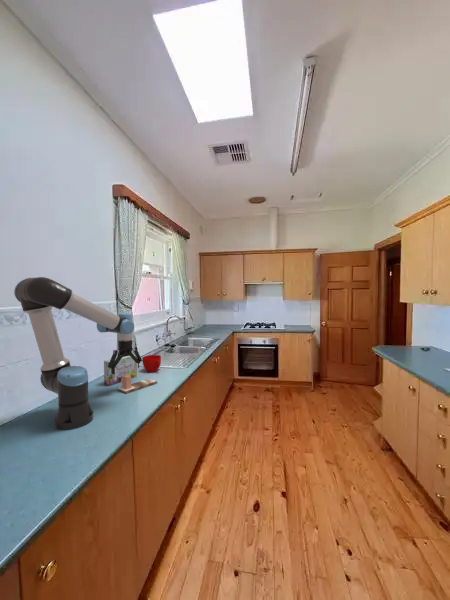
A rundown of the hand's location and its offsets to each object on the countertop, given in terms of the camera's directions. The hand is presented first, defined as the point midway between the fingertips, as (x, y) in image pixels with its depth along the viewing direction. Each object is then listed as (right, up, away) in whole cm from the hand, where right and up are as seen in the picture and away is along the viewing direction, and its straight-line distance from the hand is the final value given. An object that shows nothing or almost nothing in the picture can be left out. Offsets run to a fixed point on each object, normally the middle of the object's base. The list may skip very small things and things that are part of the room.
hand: (125, 376), depth 156 cm
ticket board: (+5, -8, +7) cm, 12 cm away
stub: (0, -7, +1) cm, 7 cm away
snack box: (-10, -8, +19) cm, 22 cm away
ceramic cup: (+6, -7, +37) cm, 38 cm away
